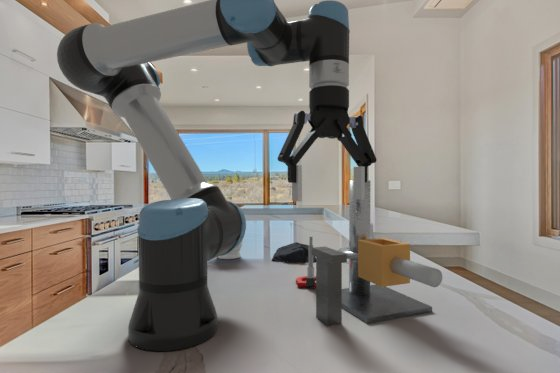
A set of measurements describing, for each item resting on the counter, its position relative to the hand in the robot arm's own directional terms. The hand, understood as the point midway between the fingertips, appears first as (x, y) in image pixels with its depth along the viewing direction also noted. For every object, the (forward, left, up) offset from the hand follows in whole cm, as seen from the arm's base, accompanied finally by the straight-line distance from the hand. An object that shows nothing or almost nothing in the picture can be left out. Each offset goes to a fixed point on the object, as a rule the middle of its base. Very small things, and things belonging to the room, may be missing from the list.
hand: (329, 200), depth 66 cm
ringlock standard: (+14, +6, -23) cm, 28 cm away
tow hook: (+8, +23, -24) cm, 34 cm away
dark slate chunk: (+17, +56, -24) cm, 63 cm away
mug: (+39, +42, -23) cm, 62 cm away
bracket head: (+14, -3, -17) cm, 22 cm away
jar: (-5, +62, -23) cm, 67 cm away
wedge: (0, 0, -23) cm, 23 cm away
